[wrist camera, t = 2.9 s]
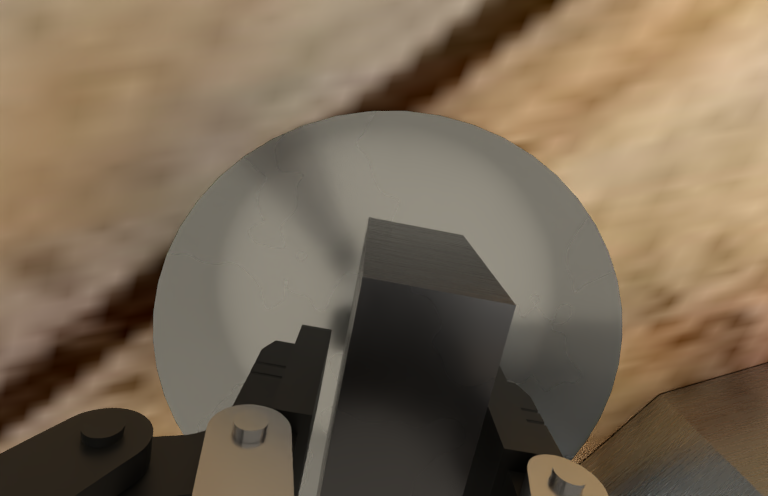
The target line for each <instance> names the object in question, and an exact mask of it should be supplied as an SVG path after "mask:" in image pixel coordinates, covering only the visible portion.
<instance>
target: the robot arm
mask: <svg viewBox="0 0 768 496" xmlns="http://www.w3.org/2000/svg"><path fill="white" fill-rule="evenodd" d="M331 332H332V330H331V329H325V328H320V327H314V326H309V325H303V324H302V326H301V329H300V331H299V334H298V337H297V339H296V342H295V344H294V343H288V342H283V341H277V340H276V341H274V342H272V343H271V344H269V345H267V346H266V347H264V348H263V349H261V351H260V353H259V355H258V357H257V359H256V362H255V363H254V365H253V367H252V369H251V371H250V374H249V375H248V377H247V379H246V381H245V383H244V385H243V387H242V388H241V390H240V392H239V394H238V396H237V398H236V400H235V402H234V404H233V406H232V407H229V408H226V409H224V410H222V411H220V412H218V413H217V414H215V415H214V416H213V417H212V418H211V419H210V421H209V422H208V425H207V428H206V430H205V431H202V432H198V433H194V434H189V435H180V436H162V437H153V427H152V424H151V422H150V421H149V420H148V419H147V418H146V417H145V416H144V415H142V414H140V413H138V412H135V411H132V410H128V409H121V408H104V409H97V410H92V411H88V412H84V413H81V414H78V415H76V416H74V417H72V418H69V419H67V420H66V421H64V422H62V423H60V424H58V425H56V426H54V427H52V428H50V429H48V430H46V431H44V432H42V433H40V434H38V435H36V436H34V437H32V438H30V439H28V440H26V441H24V442H22V443H20V444H18V445H17V446H15V447H13V448H11V449H9V450H7V451H5V452H3V453H1V454H0V496H298V495H299V490H300V486H301V481H302V476H303V472H304V467H305V462H306V458H307V453H308V448H309V444H310V439H311V435H312V430H313V425H314V421H315V416H316V411H317V406H318V401H319V396H320V391H321V386H322V381H323V375H324V370H325V365H326V359H327V354H328V349H329V343H330V338H331ZM463 496H608V493H607V491H606V489H605V488H604V486H603V485H602V483H601V482H600V481H599V480H598V479H597V478H596V477H595V476H594V475H593V474H592V473H591V472H589V471H588V470H587V469H585V468H584V467H582V466H581V465H579V464H577V463H575V462H573V461H571V460H568V459H566V458H564V457H563V455H562V454H561V452H560V450H559V448H558V446H557V444H556V443H555V441H554V439H553V437H552V435H551V433H550V432H549V430H548V428H547V426H546V425H544V421H543V419H542V417H541V415H540V413H538V410H537V408H536V406H535V404H534V402H533V400H532V399H531V397H530V396H529V395H528V394H527V393H526V392H525V391H524V390H523V389H521V388H520V387H519V386H518V385H517V384H516V383H512V382H508V381H507V379H506V377H505V375H504V373H503V371H502V369H501V367H500V365H499V368H498V372H497V375H496V379H495V382H494V386H493V390H492V393H491V397H490V400H489V404H488V407H487V411H486V414H485V418H484V421H483V425H482V429H481V432H480V436H479V439H478V443H477V446H476V450H475V453H474V457H473V461H472V464H471V468H470V471H469V475H468V478H467V482H466V485H465V489H464V493H463Z"/></svg>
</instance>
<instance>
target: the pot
mask: <svg viewBox="0 0 768 496" xmlns="http://www.w3.org/2000/svg"><path fill="white" fill-rule="evenodd" d="M580 465H581V466H582V467H584V468H585V469H587V470H588V471H589V472H591V473H592V474H593V475H594V476H595V477H596V478H597V479H598V480H599V481H600V482H601V483H602V485H603V486H604V488H605V489H606V491H607V493H608V496H768V363H767V364H763V365H760V366H756V367H753V368H749V369H746V370H743V371H739V372H736V373H732V374H729V375H725V376H722V377H719V378H715V379H712V380H708V381H705V382H702V383H698V384H695V385H691V386H688V387H684V388H681V389H678V390H674V391H671V392H667V393H664V394H661V395H659V396H658V397H657V398H655V399H654V400H653V401H652V402H651V403H650V404H649V405H647V406H646V407H645V408H644V409H643V410H642V411H641V412H639V413H638V414H637V415H636V416H635V417H634V418H633V419H631V420H630V421H629V422H628V423H627V424H626V425H625V426H623V427H622V428H621V429H620V430H619V431H618V432H617V433H615V434H614V435H613V436H612V437H611V438H610V439H609V440H607V441H606V442H605V443H604V444H603V445H602V446H601V447H599V448H598V449H597V450H596V451H595V452H594V453H593V454H591V455H590V456H589V457H588V458H587V459H586V460H585V461H583V462H582V463H581V464H580Z"/></svg>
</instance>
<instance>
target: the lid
mask: <svg viewBox="0 0 768 496" xmlns="http://www.w3.org/2000/svg"><path fill="white" fill-rule="evenodd" d="M302 324H303V325H309V326H314V327H320V328H325V329H331V330H332V332H331V338H330V343H329V349H328V354H327V359H326V365H325V370H324V375H323V381H322V386H321V391H320V396H319V401H318V406H317V411H316V416H315V421H314V425H313V430H312V435H311V439H310V444H309V448H308V453H307V458H306V462H305V467H304V472H303V476H302V481H301V486H300V490H299V495H298V496H463V493H464V489H465V485H466V482H467V478H468V475H469V471H470V468H471V464H472V461H473V457H474V453H475V450H476V446H477V443H478V439H479V436H480V432H481V429H482V425H483V421H484V418H485V414H486V411H487V407H488V404H489V400H490V397H491V393H492V390H493V386H494V382H495V379H496V375H497V372H498V368H499V365H500V367H501V369H502V371H503V373H504V375H505V377H506V379H507V381H508V382H512V383H516V384H517V385H518V386H519V387H520V388H521V389H523V390H524V391H525V392H526V393H527V394H528V395H529V396H530V397H531V399H532V400H533V402H534V404H535V406H536V408H537V410H538V413H540V415H541V417H542V419H543V421H544V425H546V426H547V428H548V430H549V432H550V433H551V435H552V437H553V439H554V441H555V443H556V444H557V446H558V448H559V450H560V452H561V454H562V455H563V457H564V458H566V459H568V460H572V459H573V457H574V456H575V455H576V453H577V452H578V451H579V450H580V448H581V447H582V446H583V444H584V443H585V442H586V441H587V439H588V437H589V435H590V434H591V432H592V430H593V429H594V427H595V425H596V424H597V422H598V420H599V419H600V417H601V414H602V412H603V410H604V407H605V405H606V403H607V400H608V398H609V396H610V393H611V391H612V387H613V383H614V380H615V376H616V372H617V369H618V365H619V358H620V350H621V342H622V307H621V300H620V294H619V287H618V281H617V277H616V274H615V271H614V268H613V264H612V261H611V258H610V255H609V252H608V250H607V248H606V245H605V243H604V241H603V239H602V237H601V235H600V233H599V231H598V229H597V227H596V225H595V223H594V222H593V220H592V219H591V217H590V216H589V214H588V213H587V211H586V210H585V208H584V207H583V205H582V204H581V202H580V201H579V199H578V198H577V197H576V196H575V195H574V194H573V193H572V192H571V191H570V189H569V188H568V187H567V186H566V185H565V184H564V183H563V182H562V181H561V180H560V178H559V177H558V176H557V175H555V174H554V173H553V172H552V171H551V170H549V169H548V168H547V167H546V166H545V165H543V164H542V163H541V162H540V161H538V160H537V159H536V158H535V157H534V156H532V155H531V154H529V153H528V152H526V151H524V150H523V149H521V148H519V147H518V146H516V145H514V144H513V143H511V142H510V141H508V140H506V139H505V138H503V137H500V136H498V135H496V134H493V133H491V132H489V131H486V130H484V129H482V128H480V127H477V126H475V125H472V124H469V123H465V122H461V121H458V120H454V119H451V118H447V117H443V116H439V115H432V114H425V113H417V112H410V111H369V112H361V113H354V114H347V115H340V116H335V117H331V118H328V119H324V120H321V121H317V122H314V123H310V124H307V125H303V126H301V127H299V128H297V129H294V130H292V131H290V132H287V133H285V134H283V135H281V136H278V137H276V138H274V139H272V140H270V141H269V142H267V143H265V144H264V145H262V146H260V147H259V148H257V149H256V150H254V151H252V152H251V153H249V154H247V155H246V156H244V157H243V158H242V159H241V160H239V161H238V162H237V163H236V164H235V165H233V166H232V167H231V168H230V169H228V170H227V171H226V172H225V173H224V174H222V175H221V176H220V177H219V178H218V179H217V180H216V181H215V182H214V183H213V185H212V186H211V187H210V188H209V189H208V190H207V191H206V192H205V193H204V194H203V196H202V197H201V198H200V199H199V200H198V201H197V203H196V204H195V206H194V207H193V209H192V210H191V212H190V213H189V214H188V216H187V217H186V219H185V220H184V222H183V223H182V225H181V226H180V228H179V230H178V232H177V234H176V237H175V239H174V241H173V243H172V245H171V247H170V249H169V251H168V253H167V256H166V259H165V262H164V265H163V269H162V272H161V275H160V278H159V281H158V286H157V293H156V299H155V305H154V312H153V343H154V351H155V358H156V366H157V371H158V374H159V378H160V381H161V385H162V389H163V392H164V396H165V398H166V400H167V403H168V405H169V407H170V409H171V412H172V414H173V416H174V419H175V421H176V423H177V424H178V426H179V428H180V429H181V431H182V433H183V434H184V435H189V434H194V433H198V432H202V431H205V430H206V428H207V425H208V422H209V421H210V419H211V418H212V417H213V416H214V415H215V414H217V413H218V412H220V411H222V410H224V409H226V408H229V407H232V406H233V404H234V402H235V400H236V398H237V396H238V394H239V392H240V390H241V388H242V387H243V385H244V383H245V381H246V379H247V377H248V375H249V374H250V371H251V369H252V367H253V365H254V363H255V362H256V359H257V357H258V355H259V353H260V351H261V349H263V348H264V347H266V346H267V345H269V344H271V343H272V342H274V341H276V340H277V341H283V342H288V343H294V344H295V342H296V339H297V337H298V334H299V331H300V329H301V326H302Z"/></svg>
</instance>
